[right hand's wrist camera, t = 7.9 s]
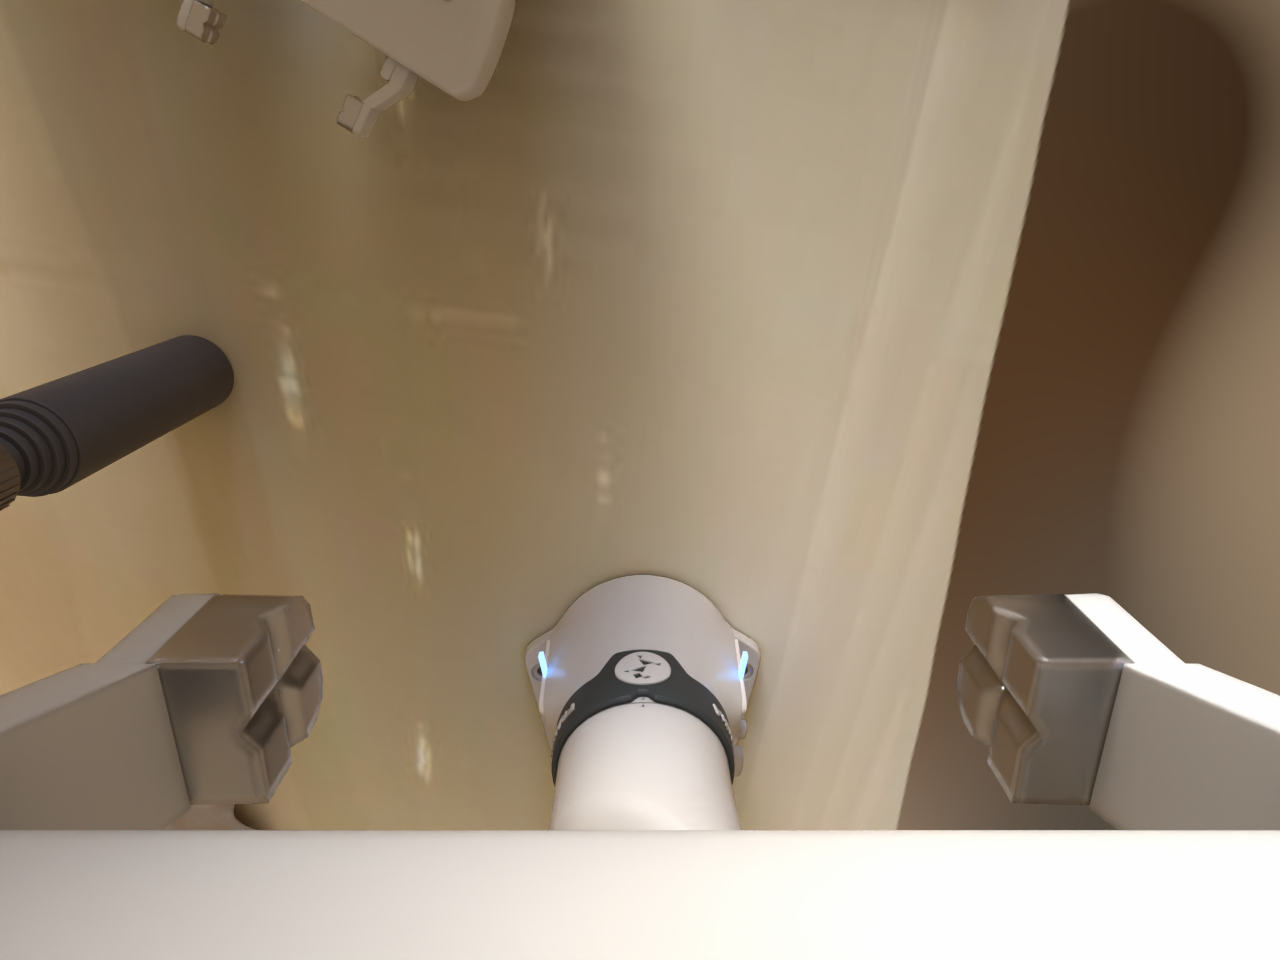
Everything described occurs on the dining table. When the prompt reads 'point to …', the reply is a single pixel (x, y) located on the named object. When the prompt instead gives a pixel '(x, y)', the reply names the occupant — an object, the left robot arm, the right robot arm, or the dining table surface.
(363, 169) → the dining table surface
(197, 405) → the bottle
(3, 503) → the cap
